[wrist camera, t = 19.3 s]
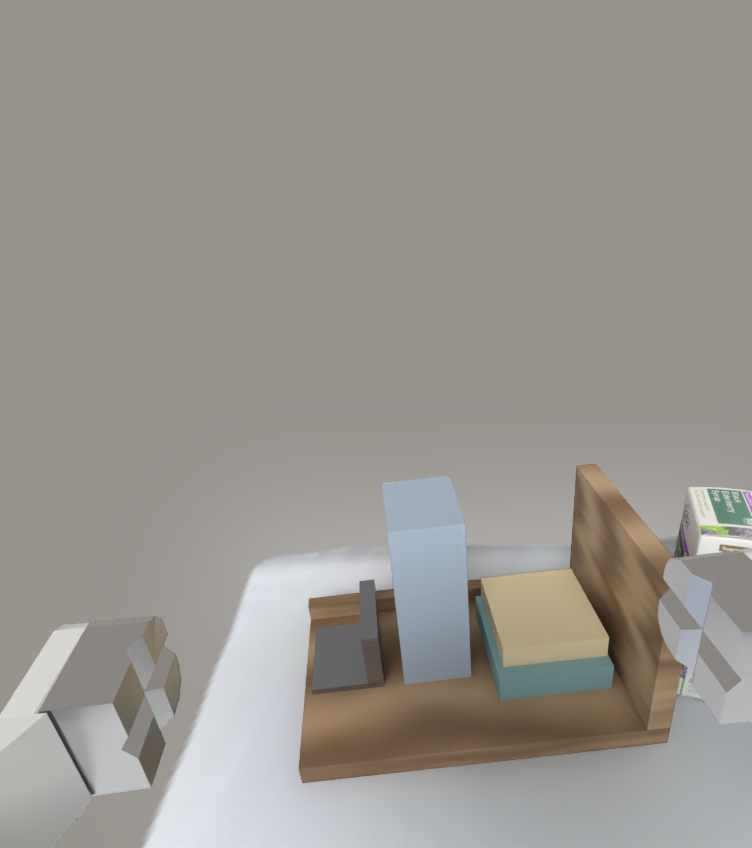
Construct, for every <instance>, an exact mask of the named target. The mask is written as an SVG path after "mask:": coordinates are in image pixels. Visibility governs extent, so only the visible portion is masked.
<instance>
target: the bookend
mask: <svg viewBox="0 0 752 848" xmlns="http://www.w3.org/2000/svg"><path fill="white" fill-rule="evenodd" d="M359 582H360V620H361V623H357V624H348V625H339V626H330V627H321V628H316V638H315V653H314V667H313V681H312V693H313V694H321V693H330V692H339V691H348V690H357V689H366V688H375V687H384V686H385V685H384V670H383V656H382V642H381V627H380V619H379V611H378V604H377V597H376V589H375V582H374V580H367V581H359Z"/></svg>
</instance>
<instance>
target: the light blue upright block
mask: <svg viewBox="0 0 752 848" xmlns="http://www.w3.org/2000/svg"><path fill="white" fill-rule="evenodd" d="M382 487H383V497H384V506H385V516H386V526H387V534H388V543H389V552H390V561H391V570H392V578H393V587H394V596H395V604H396V613H397V621H398V630H399V639H400V647H401V656H402V665H403V673H404V682H405V684H412V683H421V682H430V681H439V680H448V679H457V678H466V677H471V658H470V632H469V607H468V581H467V555H466V531H465V521H464V518H463V515H462V512H461V509H460V506H459V503H458V500H457V497H456V494H455V491H454V488H453V485H452V482H451V479H450V476H441V477H431V478H422V479H414V480H405V481H396V482H387V483H382Z"/></svg>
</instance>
